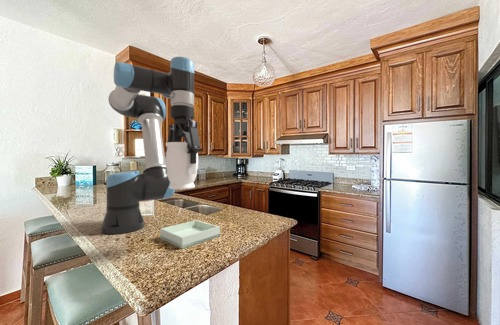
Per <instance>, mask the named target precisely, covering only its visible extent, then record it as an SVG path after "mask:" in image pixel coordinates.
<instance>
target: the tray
mask: <svg viewBox="0 0 500 325" xmlns="http://www.w3.org/2000/svg"><path fill="white" fill-rule="evenodd" d="M159 230H160V231H159V232H160V233H159V234H160V236H159V237H160V239H161V240H163V241H164V242H167V243H169V244H171V245H173V246H175V247H177V248H180V249H181V250H184V249H187V248H189V247H190V248H191V247H193V246H195V245H198V244H199V245H200V244H202V243H205V242H207V241H210V240H213V239H216V238H219V237H220V236H221V227H220V226H219V225H216V224H213V223H212V224H211V223H210V222H209V223H208V222H205V221H202V220H198V219H193V220H189V221H187V222H183V223H177V224H174V225H170V226H166V227H162V228H160V229H159Z"/></svg>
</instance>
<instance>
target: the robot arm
mask: <svg viewBox="0 0 500 325" xmlns="http://www.w3.org/2000/svg"><path fill="white" fill-rule="evenodd" d="M169 68H170V71H169V72H164V71H163V72H162V71H160V70H155V69H151V68H146V67H142V66H138V65H135V64H131V63H128V62H120V61H119V62H118V61H117V62H115V63H114V68H113V83H114V85H115V88H114V89H113V90H111V92H110V93H109V95H108V104H109V105H110V107H111V108H112V110H114V111H115V112H116V113H117V114H119V115H122V116H123V117H126V118H127V117H128V118H134V119H137V122H138V123H139V125H140V126H141V131H142V133H141V134H142V139H143V142H142V143H143V150H144V161H145V168H144V169H143V170H142V173H140V171H139V170H129V171H121V172H115V173H111V174H109V175H108V176H107V177H106V185H105V188H106V212H105V214H104V217H103V220H102V222H101V226H100V228H101V229H100V231H101V233H102V234H104V235H105V234H106V235H109V234H110V235H118V234H119V235H121V234H126V233H132V232H135V231H139V230H141V229H142V228H144V227H145V220H144V217H143V215H142V211H141V209H140V202H145V201H154V200H155V201H156V200H164V199H170V198H172V197H174V194H175V192H176V189H170V188H169V186H170V184H171V183H170V181H169V179H168V176H167V169H166V152H167V148H166V149H165V148H164V140H163V135H162V134H163V133H162V126H161V125H162V123H163V121H164V120H165V119H166V117H167V113H166V112H167V109H166V104H165V102H164V100H163V99H162V98H160V97H156V96H149V95H145V94H140V92H148V93H151V94H152V93H153V94H157V95H158V94H159V95H161V96H163V97H164V98H166V99H170V105H171V106H170V118H171V119H173V120H174V122H173V124H169V125H168V136H167V141H166V143H168V142H182V141H181V140H182V139H183V138H184V142H187V148H188V152H187V153H190V154H187V174H196V153H197V152H201V150H202V148H201V141H200V135H199V130H198V121H197V120H195V108H194V107H195V73H196V72H195V64H194V61H193V60H191V59H190V58H187V57H184V56H175V57H172V58H171V59H170V66H169ZM196 146H197V147H196ZM165 150H166V152H165Z"/></svg>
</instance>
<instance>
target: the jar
mask: <svg viewBox="0 0 500 325" xmlns="http://www.w3.org/2000/svg"><path fill="white" fill-rule="evenodd" d="M167 142H168V141H167ZM167 142H165V146H166V149H167V152H165V162H166V169H167V176H168V179H169V181H170V183H171V184H170V186H169V188H170V189H175V190H191V189H194V188H195V187H196V185H195V181H196V177H197V173H198V168H199V153H198V152H199V151H198V152H197V153H196V174H187V154H190V153H187V152H188V148H187V142H185V141H180V142H168V143H167ZM196 147H197V146H196Z"/></svg>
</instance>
